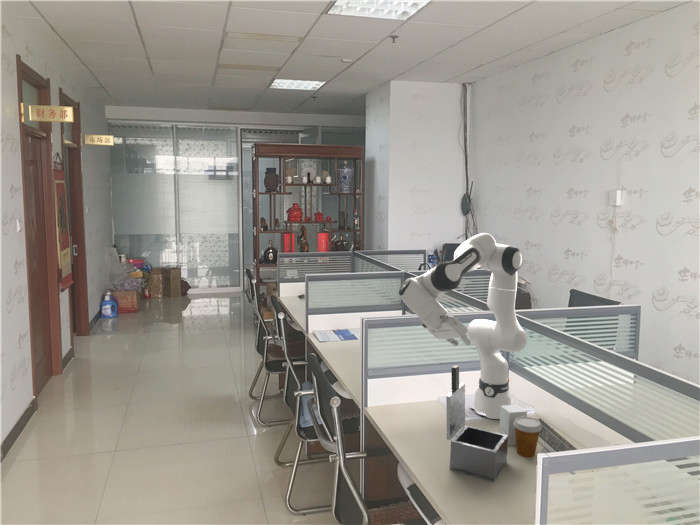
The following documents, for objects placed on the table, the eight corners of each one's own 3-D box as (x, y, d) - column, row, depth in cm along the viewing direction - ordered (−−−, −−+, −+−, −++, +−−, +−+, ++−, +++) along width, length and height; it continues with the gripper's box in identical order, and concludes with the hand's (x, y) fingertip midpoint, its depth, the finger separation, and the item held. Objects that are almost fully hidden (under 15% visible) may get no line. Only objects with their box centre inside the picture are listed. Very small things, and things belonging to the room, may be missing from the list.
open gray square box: (464, 451, 203) (465, 425, 201) (506, 462, 195) (508, 435, 194) (449, 469, 190) (451, 441, 189) (493, 481, 182) (495, 452, 181)
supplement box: (525, 444, 210) (527, 411, 208) (507, 445, 208) (509, 412, 207) (516, 435, 217) (518, 404, 215) (498, 436, 215) (500, 405, 214)
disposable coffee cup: (541, 451, 204) (543, 419, 203) (537, 462, 196) (539, 429, 194) (514, 445, 209) (516, 414, 207) (509, 456, 200) (511, 423, 199)
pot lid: (465, 424, 201) (459, 423, 203) (464, 361, 199) (458, 360, 200) (450, 440, 189) (443, 438, 190) (449, 372, 186) (443, 372, 187)
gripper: (454, 308, 189) (482, 336, 190) (429, 313, 209) (455, 339, 210) (442, 321, 187) (471, 350, 188) (419, 325, 207) (445, 351, 208)
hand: (462, 344), depth 199 cm, fingers open, 8 cm apart
